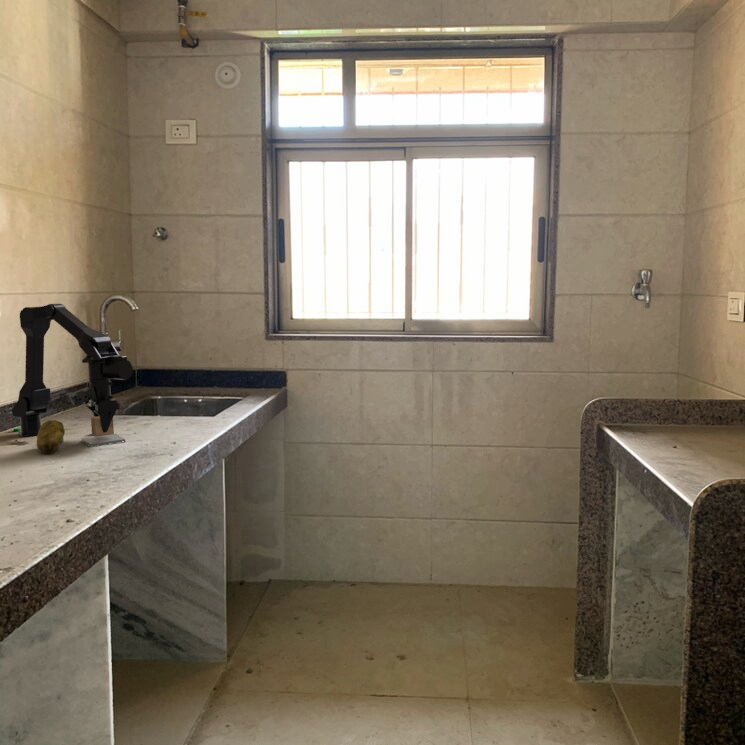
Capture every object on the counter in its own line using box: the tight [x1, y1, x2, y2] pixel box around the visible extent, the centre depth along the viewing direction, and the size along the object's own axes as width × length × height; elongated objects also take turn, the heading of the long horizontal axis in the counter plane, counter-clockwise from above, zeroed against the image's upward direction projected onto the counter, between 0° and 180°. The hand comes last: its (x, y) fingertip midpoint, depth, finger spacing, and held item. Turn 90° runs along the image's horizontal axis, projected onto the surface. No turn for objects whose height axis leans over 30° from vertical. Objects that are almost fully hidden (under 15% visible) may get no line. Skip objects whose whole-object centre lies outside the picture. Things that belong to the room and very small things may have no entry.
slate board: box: [80, 433, 126, 447], centre depth 211 cm, size 10×10×1 cm
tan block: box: [90, 416, 115, 437], centre depth 211 cm, size 5×5×5 cm
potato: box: [36, 419, 65, 455], centre depth 200 cm, size 8×13×8 cm, turn 1°
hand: (102, 430), depth 211 cm, fingers closed on tan block, 5 cm apart
